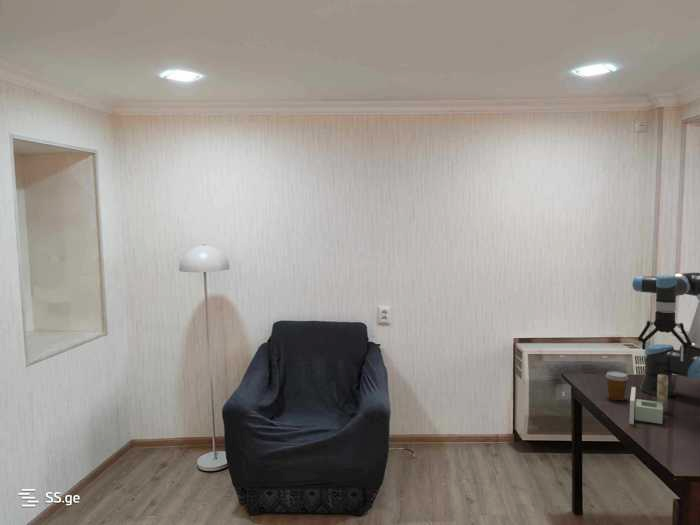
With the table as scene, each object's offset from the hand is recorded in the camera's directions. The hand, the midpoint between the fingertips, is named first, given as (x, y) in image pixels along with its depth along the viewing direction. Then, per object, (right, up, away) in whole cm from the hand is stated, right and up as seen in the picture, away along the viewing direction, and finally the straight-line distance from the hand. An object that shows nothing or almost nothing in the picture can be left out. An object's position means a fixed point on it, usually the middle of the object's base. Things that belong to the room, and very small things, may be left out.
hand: (663, 358), depth 231 cm
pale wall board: (-16, -24, -4) cm, 29 cm away
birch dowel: (0, -24, +2) cm, 24 cm away
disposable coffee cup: (-11, -23, +18) cm, 31 cm away
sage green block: (-10, -24, -7) cm, 27 cm away
